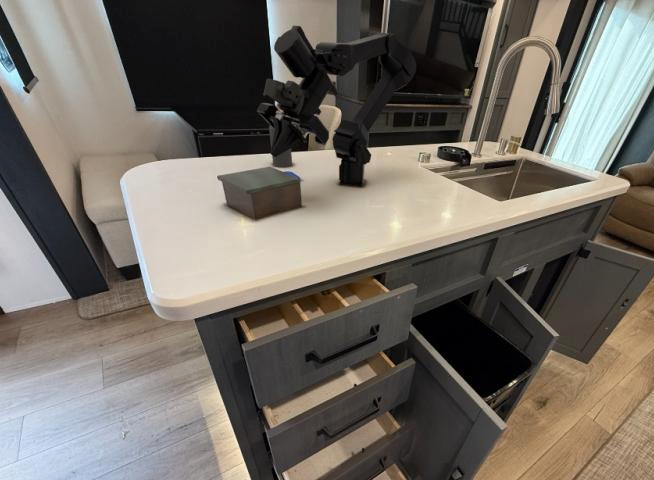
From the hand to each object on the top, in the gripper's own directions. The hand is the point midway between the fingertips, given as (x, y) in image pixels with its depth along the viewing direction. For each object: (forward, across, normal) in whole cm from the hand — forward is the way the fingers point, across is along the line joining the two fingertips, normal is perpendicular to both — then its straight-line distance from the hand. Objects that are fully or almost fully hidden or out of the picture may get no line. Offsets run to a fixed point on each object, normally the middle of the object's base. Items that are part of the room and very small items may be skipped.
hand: (272, 155), depth 71 cm
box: (+10, 0, +5) cm, 11 cm away
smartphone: (+2, -14, +13) cm, 20 cm away
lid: (+6, 0, +1) cm, 6 cm away
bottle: (-6, -25, +22) cm, 34 cm away
